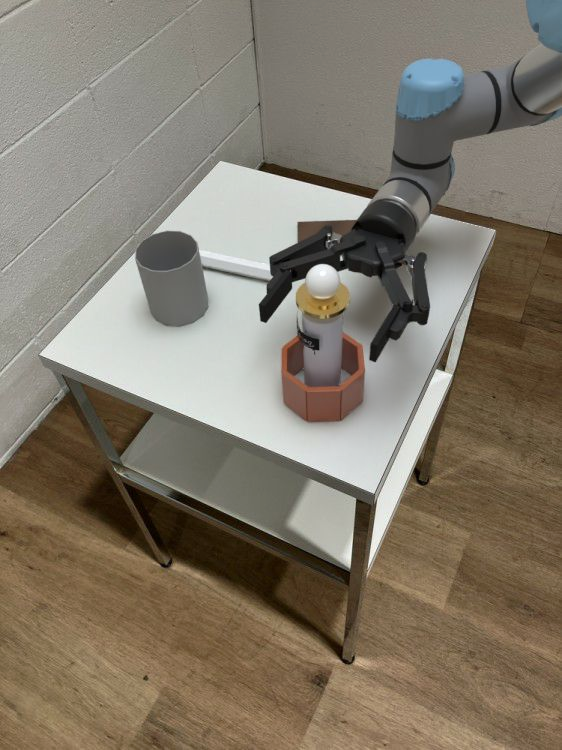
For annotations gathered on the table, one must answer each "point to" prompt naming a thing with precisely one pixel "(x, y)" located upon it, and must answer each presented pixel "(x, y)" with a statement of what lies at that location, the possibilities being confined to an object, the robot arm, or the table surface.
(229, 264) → the marker
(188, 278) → the cup
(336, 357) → the perfume bottle
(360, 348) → the holder
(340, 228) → the coaster
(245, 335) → the table surface
